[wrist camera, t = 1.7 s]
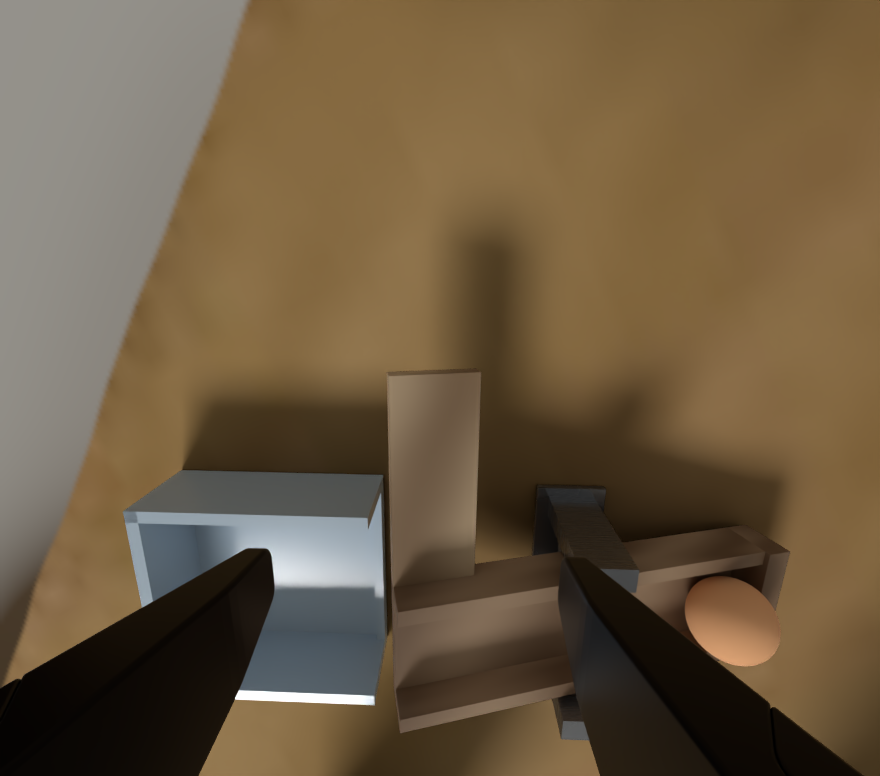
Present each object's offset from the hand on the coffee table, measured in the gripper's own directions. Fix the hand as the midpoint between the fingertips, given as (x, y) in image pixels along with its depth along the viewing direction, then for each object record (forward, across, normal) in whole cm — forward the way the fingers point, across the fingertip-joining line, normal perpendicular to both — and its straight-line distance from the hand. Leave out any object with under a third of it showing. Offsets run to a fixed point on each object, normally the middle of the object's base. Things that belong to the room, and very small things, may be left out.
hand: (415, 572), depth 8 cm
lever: (+10, -6, +4) cm, 12 cm away
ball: (+8, -12, +8) cm, 16 cm away
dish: (+11, +7, +8) cm, 15 cm away
